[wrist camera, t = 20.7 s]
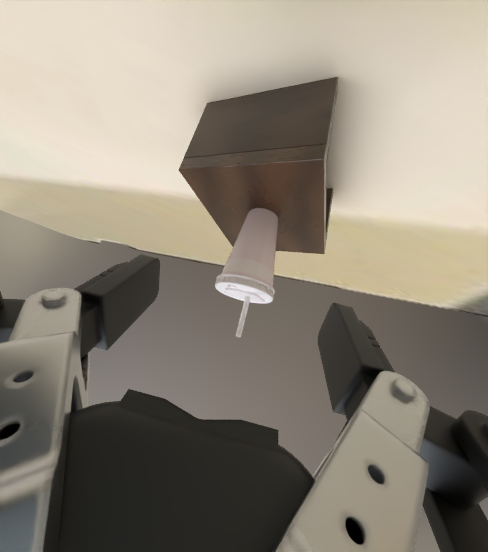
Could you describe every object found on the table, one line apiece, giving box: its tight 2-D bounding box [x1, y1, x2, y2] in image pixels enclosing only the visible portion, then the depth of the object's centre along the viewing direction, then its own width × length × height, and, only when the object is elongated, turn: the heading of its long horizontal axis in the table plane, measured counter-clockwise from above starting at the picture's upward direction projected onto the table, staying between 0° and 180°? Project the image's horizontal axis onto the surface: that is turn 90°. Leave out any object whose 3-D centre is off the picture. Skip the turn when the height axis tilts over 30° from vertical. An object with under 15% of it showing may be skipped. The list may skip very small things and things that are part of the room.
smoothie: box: [215, 208, 278, 337], centre depth 25 cm, size 6×6×14 cm
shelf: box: [179, 77, 338, 254], centre depth 29 cm, size 14×16×10 cm
